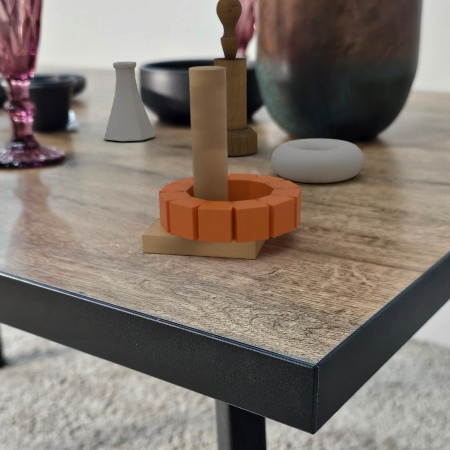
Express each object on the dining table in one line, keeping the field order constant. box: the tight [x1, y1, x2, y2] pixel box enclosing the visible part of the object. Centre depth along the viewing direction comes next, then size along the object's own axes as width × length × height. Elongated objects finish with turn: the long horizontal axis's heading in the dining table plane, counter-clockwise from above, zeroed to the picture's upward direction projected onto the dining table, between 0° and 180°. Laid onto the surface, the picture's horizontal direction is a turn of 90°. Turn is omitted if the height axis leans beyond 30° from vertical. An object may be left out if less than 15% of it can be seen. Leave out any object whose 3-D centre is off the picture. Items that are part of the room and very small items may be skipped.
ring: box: [158, 172, 302, 243], centre depth 60 cm, size 11×11×3 cm
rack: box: [141, 65, 267, 260], centre depth 59 cm, size 9×9×14 cm
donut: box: [270, 138, 365, 184], centre depth 80 cm, size 10×4×10 cm
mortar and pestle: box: [213, 0, 259, 157], centre depth 89 cm, size 7×6×18 cm
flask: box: [103, 61, 155, 142], centre depth 101 cm, size 7×7×10 cm
